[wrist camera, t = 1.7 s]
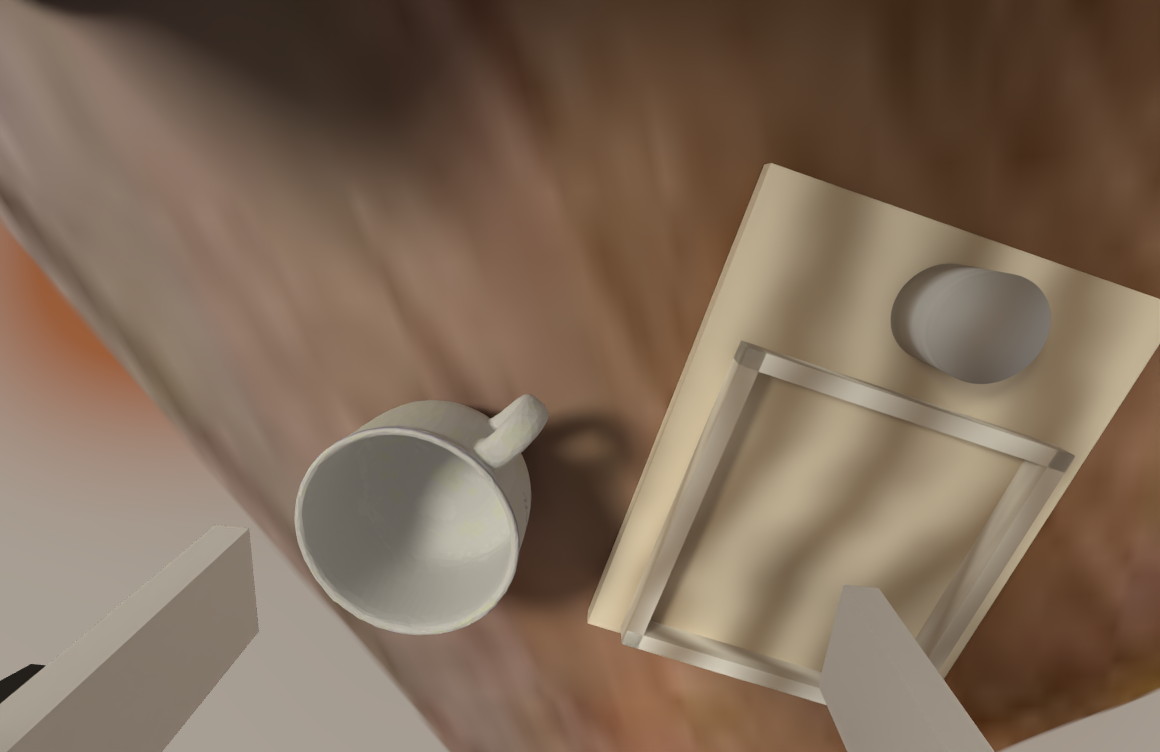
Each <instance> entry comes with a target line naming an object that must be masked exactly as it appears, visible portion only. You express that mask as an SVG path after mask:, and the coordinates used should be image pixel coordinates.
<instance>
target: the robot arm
mask: <svg viewBox="0 0 1160 752" xmlns="http://www.w3.org/2000/svg"><path fill="white" fill-rule="evenodd" d="M258 632H259V629H258V618H257V608H256V597H255V586H254V576H253V565H252V555H251V544H250V533H249V528H240V527H228V526H219V525H215V526H213V527H212V528H211V529H210V530H209V531H207V532H206V533H205V534H204V535H203V536H201V537H200V538H199V539H198V540H196V541H195V542H194V543H193V544H192V545H190V546H189V547H188V548H187V549H186V550H184V551H183V552H182V553H181V554H180V555H178V556H177V557H176V558H175V559H174V560H173V561H171V562H170V563H169V564H168V565H167V566H165V567H164V568H163V569H162V570H160V571H159V572H158V573H157V574H156V575H154V577H152V578H151V579H150V580H148V581H147V582H146V583H145V584H144V585H143V586H142V587H140V588H139V589H138V590H136V591H135V592H134V593H133V594H132V595H130V596H129V597H128V598H127V599H126V600H125V601H123V602H122V603H121V604H120V605H118V606H117V607H116V608H115V609H114V610H112V611H111V612H110V613H109V614H108V615H106V616H105V617H104V618H103V619H102V620H100V621H99V622H98V623H97V624H96V625H94V626H93V627H92V628H91V629H90V630H88V631H87V632H86V633H85V634H84V635H82V636H81V637H80V638H79V639H78V640H76V641H75V642H74V643H73V644H72V645H70V646H69V647H68V648H67V649H66V650H64V651H63V652H62V653H61V654H60V655H58V656H57V657H56V658H55V659H54V660H52V661H51V662H50V663H49V664H47V665H35V664H30V665H29V666H27V667H25V668H23V669H21V670H19V671H18V672H16V673H14V674H12V675H10V676H8V677H6V678H5V679H3V680H1V681H0V752H162V751H163V750H164V749H165V747H166V746H167V745H168V744H169V742H170V741H171V740H172V739H173V737H174V736H175V735H176V734H177V733H178V731H179V730H180V729H181V727H182V726H183V725H184V724H185V722H186V721H187V720H188V719H189V718H190V716H191V715H192V714H193V712H194V711H195V710H196V709H197V708H198V706H199V705H200V704H201V703H202V701H203V700H204V699H205V698H206V696H207V695H208V694H209V693H210V691H211V690H212V689H213V688H214V686H215V685H216V684H217V683H218V681H219V680H220V679H221V678H222V676H223V675H224V674H225V673H226V671H227V670H228V669H229V668H230V667H231V665H232V664H233V663H234V661H235V660H236V659H237V658H238V657H239V655H240V654H241V653H242V651H243V650H244V649H245V648H246V646H247V645H248V644H249V643H250V642H251V640H252V639H253V638H254V637H255V635H256V634H257V633H258ZM818 686H819V689H820V691H821V693H822V696H823V698H824V700H825V702H826V705H827V707H828V709H829V711H830V714H831V716H832V718H833V721H834V723H835V725H836V727H837V730H838V732H839V734H840V736H841V739H842V741H843V743H844V746H845V748H846V750H847V752H994V750H993V749H992V747H991V746H990V744H989V743H988V742H987V740H986V739H985V737H984V736H983V735H982V733H981V732H980V730H979V729H978V728H977V726H976V725H975V723H974V722H973V720H972V719H971V718H970V716H969V715H968V713H967V712H966V711H965V709H964V708H963V706H962V705H961V704H960V702H959V701H958V699H957V698H956V696H955V695H954V694H953V692H952V691H951V689H950V688H949V687H948V685H947V684H946V682H945V681H944V679H943V678H942V677H941V675H940V674H939V672H938V671H937V670H936V668H935V667H934V665H933V664H932V663H931V661H930V660H929V658H928V657H927V655H926V654H925V653H924V651H923V650H922V648H921V647H920V646H919V644H918V643H917V641H916V640H915V639H914V637H913V636H912V634H911V633H910V631H909V630H908V629H907V627H906V626H905V624H904V623H903V622H902V620H901V619H900V617H899V616H898V615H897V613H896V612H895V610H894V609H893V607H892V606H891V605H890V603H889V602H888V600H887V599H886V598H885V596H884V595H883V593H882V592H881V591H880V589H879V588H873V587H862V586H852V585H843V589H842V593H841V597H840V601H839V605H838V609H837V613H836V617H835V621H834V625H833V629H832V633H831V637H830V641H829V645H828V649H827V653H826V657H825V661H824V665H823V669H822V673H821V677H820V681H819V685H818Z"/></svg>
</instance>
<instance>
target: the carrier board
mask: <svg viewBox="0 0 1160 752" xmlns="http://www.w3.org/2000/svg"><path fill="white" fill-rule="evenodd" d="M1159 344H1160V299H1158V298H1155V297H1152V296H1149V295H1147V294H1144V293H1141V292H1138V291H1135V290H1132V289H1129V288H1127V287H1124V286H1121V285H1118V284H1115V283H1112V282H1109V281H1107V280H1104V279H1101V278H1098V277H1095V276H1092V275H1089V274H1087V273H1084V272H1081V271H1078V270H1075V269H1072V268H1069V267H1067V266H1064V265H1061V264H1058V263H1055V262H1052V261H1049V260H1047V259H1044V258H1041V257H1038V256H1035V255H1032V254H1030V253H1027V252H1024V251H1021V250H1018V249H1015V248H1012V247H1010V246H1007V245H1004V244H1001V243H998V242H995V241H992V240H990V239H987V238H984V237H981V236H978V235H975V234H972V233H970V232H967V231H964V230H961V229H958V228H955V227H952V226H950V225H947V224H944V223H941V222H938V221H935V220H932V219H930V218H927V217H924V216H921V215H918V214H915V213H912V212H910V211H907V210H904V209H901V208H898V207H895V206H892V205H890V204H887V203H884V202H881V201H878V200H875V199H872V198H870V197H867V196H864V195H861V194H858V193H855V192H852V191H850V190H847V189H844V188H841V187H838V186H835V185H832V184H830V183H827V182H824V181H821V180H818V179H815V178H813V177H810V176H807V175H804V174H801V173H798V172H795V171H793V170H790V169H787V168H784V167H781V166H778V165H775V164H773V163H768V164H764V166H763V169H762V171H761V174H760V177H759V179H758V182H757V184H756V187H755V189H754V192H753V194H752V197H751V199H750V202H749V204H748V207H747V209H746V212H745V214H744V217H743V220H742V222H741V225H740V227H739V230H738V232H737V235H736V237H735V240H734V242H733V245H732V247H731V250H730V252H729V255H728V257H727V260H726V262H725V265H724V268H723V270H722V273H721V275H720V278H719V280H718V283H717V285H716V288H715V290H714V293H713V295H712V298H711V300H710V303H709V305H708V308H707V311H706V313H705V316H704V318H703V321H702V323H701V326H700V328H699V331H698V333H697V336H696V338H695V341H694V343H693V346H692V348H691V351H690V354H689V356H688V359H687V361H686V364H685V366H684V369H683V371H682V374H681V376H680V379H679V381H678V384H677V386H676V389H675V391H674V394H673V397H672V399H671V402H670V404H669V407H668V409H667V412H666V414H665V417H664V419H663V422H662V424H661V427H660V429H659V432H658V434H657V437H656V439H655V442H654V445H653V447H652V450H651V452H650V455H649V457H648V460H647V462H646V465H645V467H644V470H643V472H642V475H641V477H640V480H639V482H638V485H637V488H636V490H635V493H634V495H633V498H632V500H631V503H630V505H629V508H628V510H627V513H626V515H625V518H624V520H623V523H622V525H621V528H620V531H619V533H618V536H617V538H616V541H615V543H614V546H613V548H612V551H611V553H610V556H609V558H608V561H607V563H606V566H605V568H604V571H603V574H602V576H601V579H600V581H599V584H598V586H597V589H596V591H595V594H594V596H593V599H592V601H591V604H590V606H589V609H588V623H589V624H592V625H595V626H599V627H602V628H605V629H609V630H612V631H615V632H618V633H621V640H622V644H624V645H627V646H631V647H634V648H637V649H641V650H644V651H647V652H651V653H654V654H657V655H661V656H664V657H667V658H671V659H674V660H677V661H681V662H684V663H687V664H691V665H694V666H697V667H701V668H704V669H707V670H711V671H714V672H717V673H721V674H724V675H727V676H731V677H734V678H737V679H741V680H744V681H748V682H751V683H754V684H758V685H761V686H764V687H768V688H771V689H774V690H778V691H781V692H784V693H788V694H791V695H794V696H798V697H801V698H804V699H808V700H811V701H814V702H818V703H821V704H824V705H826V702H825V700H824V698H823V696H822V693H821V691H820V689H819V686H818V685H819V681H820V677H821V673H822V669H823V665H824V661H825V657H826V653H827V649H828V645H829V641H830V637H831V633H832V629H833V625H834V621H835V617H836V613H837V609H838V605H839V601H840V597H841V593H842V589H843V585H852V586H862V587H873V588H879V589H880V591H881V592H882V593H883V595H884V596H885V598H886V599H887V600H888V602H889V603H890V605H891V606H892V607H893V609H894V610H895V612H896V613H897V615H898V616H899V617H900V619H901V620H902V622H903V623H904V624H905V626H906V627H907V629H908V630H909V631H910V633H911V634H912V636H913V637H914V639H915V640H916V641H917V643H918V644H919V646H920V647H921V648H922V650H923V651H924V653H925V654H926V655H927V657H928V658H929V660H930V661H931V663H932V664H933V665H934V667H935V668H936V670H937V671H938V672H939V674H940V675H941V677H942V678H943V679H944V678H945V677H946V675H947V674H948V672H949V670H950V669H951V667H952V666H953V664H954V663H955V661H956V660H957V658H958V656H959V655H960V653H961V652H962V650H963V649H964V647H965V646H966V644H967V642H968V641H969V639H970V638H971V636H972V635H973V633H974V632H975V630H976V628H977V627H978V625H979V624H980V622H981V621H982V619H983V618H984V616H985V614H986V613H987V611H988V610H989V608H990V607H991V605H992V604H993V602H994V600H995V599H996V597H997V596H998V594H999V593H1000V591H1001V590H1002V588H1003V586H1004V585H1005V583H1006V582H1007V580H1008V579H1009V577H1010V576H1011V574H1012V572H1013V571H1014V569H1015V568H1016V566H1017V565H1018V563H1019V562H1020V560H1021V558H1022V557H1023V555H1024V554H1025V552H1026V551H1027V549H1028V548H1029V546H1030V544H1031V543H1032V541H1033V540H1034V538H1035V537H1036V535H1037V534H1038V532H1039V530H1040V529H1041V527H1042V526H1043V524H1044V523H1045V521H1046V520H1047V518H1048V516H1049V515H1050V513H1051V512H1052V510H1053V509H1054V507H1055V506H1056V504H1057V502H1058V501H1059V499H1060V498H1061V496H1062V495H1063V493H1064V492H1065V490H1066V489H1067V487H1068V485H1069V484H1070V482H1071V481H1072V479H1073V478H1074V476H1075V475H1076V473H1077V471H1078V470H1079V468H1080V467H1081V465H1082V464H1083V462H1084V461H1085V459H1086V457H1087V456H1088V454H1089V453H1090V451H1091V450H1092V448H1093V447H1094V445H1095V443H1096V442H1097V440H1098V439H1099V437H1100V436H1101V434H1102V433H1103V431H1104V429H1105V428H1106V426H1107V425H1108V423H1109V422H1110V420H1111V419H1112V417H1113V415H1114V414H1115V412H1116V411H1117V409H1118V408H1119V406H1120V405H1121V403H1122V401H1123V400H1124V398H1125V397H1126V395H1127V394H1128V392H1129V391H1130V389H1131V387H1132V386H1133V384H1134V383H1135V381H1136V380H1137V378H1138V377H1139V375H1140V373H1141V372H1142V370H1143V369H1144V367H1145V366H1146V364H1147V363H1148V361H1149V359H1150V358H1151V356H1152V355H1153V353H1154V352H1155V350H1156V349H1157V347H1158V345H1159Z"/></svg>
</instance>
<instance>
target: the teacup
mask: <svg viewBox="0 0 1160 752" xmlns="http://www.w3.org/2000/svg"><path fill="white" fill-rule="evenodd" d="M548 417H549V412H548V410H547V408H546V407H545V405H544V404H543V403H542V402H541V401H540V400H538V399H537V398H536V397H535V396H533V395H530V394H525V395H522V396H521V397H519V398H518V399H516V400H515V401H513V402H512V403H511V404H510V405H509V406H507V407H506V408H505V409H504V410H503V411H502V412H501V413H499V414H497V415H496V416H494V417H493V418H489V417H488V416H486V415H485V414H483V413H481V412H479V411H477V410H475V409H473V408H470V407H468V406H466V405H463V404H459V403H455V402H451V401H443V400H424V401H417V402H412V403H408V404H404V405H401V406H398V407H396V408H393V409H391V410H389V411H387V412H385V413H383V414H381V415H379V416H378V417H376V418H374V419H373V420H371V421H370V422H368V423H367V424H365V425H364V426H362V427H361V428H359V429H358V430H356V431H355V432H354V433H352V434H351V435H349V436H347V437H345V438H343V439H341V440H339V441H337V442H336V443H335V444H333V445H332V446H331V447H329V448H328V449H327V450H325V451H324V452H323V453H322V454H321V455H319V456H318V458H317V459H316V460H315V461H314V463H313V464H312V465H311V466H310V468H309V470H308V471H307V473H306V475H305V477H304V479H303V480H302V483H301V485H300V488H299V492H298V496H297V500H296V505H295V514H294V515H295V528H296V535H297V540H298V544H299V546H300V549H301V552H302V555H303V557H304V560H305V561H306V563H307V565H308V567H309V568H310V570H311V572H312V574H313V576H314V577H315V579H316V580H317V581H318V583H319V584H320V585H321V586H322V587H323V589H324V590H325V591H326V593H327V594H328V595H329V596H330V597H331V599H332V600H333V601H335V602H337V603H338V604H340V605H341V606H342V607H343V608H344V609H346V610H347V611H349V612H350V613H352V614H353V615H355V616H356V617H357V618H359V619H361V620H364V621H366V622H368V623H370V624H372V625H374V626H376V627H378V628H382V629H385V630H389V631H393V632H397V633H403V634H413V635H434V634H440V633H446V632H451V631H454V630H457V629H461V628H463V627H465V626H468V625H470V624H472V623H473V622H475V621H477V620H479V619H480V618H482V617H483V616H485V615H486V614H488V613H489V612H490V611H491V609H492V608H494V607H495V606H496V605H497V603H498V602H499V600H500V599H501V598H502V597H503V596H504V594H505V593H506V592H507V589H508V587H509V586H510V584H511V582H512V580H513V578H514V576H515V573H516V568H517V564H518V558H519V551H520V548H521V545H522V542H523V539H524V535H525V532H526V528H527V524H528V519H529V514H530V508H531V485H530V478H529V473H528V470H527V466H526V463H525V461H524V459H523V456H522V454H521V452H523V451H524V450H525V449H526V448H527V447H528V446H529V445H530V444H531V442H532V441H533V440H534V439H535V438H536V437H537V436H538V434H539V433H540V432H541V431H542V429H543V427H544V426H545V424H546V422H547V420H548Z"/></svg>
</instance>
